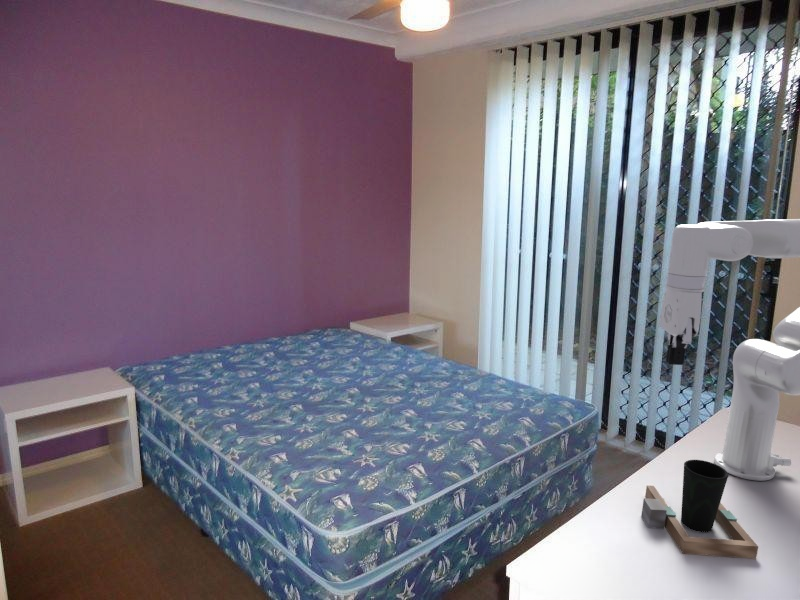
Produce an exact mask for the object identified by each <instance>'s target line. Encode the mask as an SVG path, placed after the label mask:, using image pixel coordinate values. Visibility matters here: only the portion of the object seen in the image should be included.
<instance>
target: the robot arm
mask: <svg viewBox="0 0 800 600" xmlns="http://www.w3.org/2000/svg"><path fill="white" fill-rule="evenodd" d="M669 254H670V255H669V258H668V259H669V261H668V269H667V273H666V274H667V275H666V276H667V277H666V282H665V292H664V295H663V299H662V304H661V309H660V315H659V323H658V325H659V327H661V329H662V330H663V331H665V332H666V333H667V348H666V349H667V351H666V357H665V362H666V363H667V364H669V365H673V366H683V365H684V362H685V356H686V349H687V347H688V344H689V345H691V344H692V339H693V338H695V337H697V336H698V333H699V329H700V322H701V315H702V314H701V313H702V301H703V300H702V299H703V298H702V295H703V294H702V293H703V292H705V288H706V280H707V274H708V267H709V260H719V261H724V262H726V261H727V262H736V261H740V260H742V259H744V258H746V257H747V256H752V257H753V256H754V257H759V258H768V259H792V258H800V218H788V219H787V218H786V219H760V220H759V219H758V220H757V219H755V220H723V221H722V220H721V221H719V220H718V221H704V222H698V223H696V224H679V225H677V226H675V227H674V228H673V232H672V238H671V246H670V253H669ZM772 336H773V340H774V341H775V342H773V341H769V340H765V339H763V338H761V339H760V338H750V339H749V338H748V339H745V340H744V341H742V342H740V343H739V345H737V347H736V349H735V350H734V352H733V355H732V369H733V371H732V372H733V387H732V395H731V400H730V406H729V411H728V412H729V413H728V418H727V426H726V431H725V438H724V443H723V449H722V451H721V452H717V453H716V454H714V460H713V461H714V464H716V465H718V466H720V467H722V468H723V469H725V470H726V471H727V473H728V475H729V474H730V475H732V476H735V477H738V478H741V479H745V480H750V481H758V482H759V481H761V482H762V481H769V480H772V479H774V478H775V475H776V468H775V467H777V466H781V467H791V465H792V461H791V458H790V457H782V456H781V457H780V456H779V454H778V453H771V452H772V447H773V442H774V435H775V429H776V426H777V425H776V424H777V418H778V413H779V410H780V393H783V394H785V395H789V396H800V306H798V307H797V308H796V309H795V310H794V311H792V312H791V313H790V314H788V315H787V316H785V318H783V319H782V320H780V321H779V322H778V324H777V325H775V327H774V329H773V334H772ZM779 392H780V393H779Z"/></svg>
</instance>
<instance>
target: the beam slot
mask: <svg viewBox="0 0 800 600" xmlns="http://www.w3.org/2000/svg"><path fill="white" fill-rule="evenodd" d="M645 487H646V488H645V496H644V497H645V498H644V497H643V501H642V502H643V503H642V509H641V518H642V520H643V521H644V523H645V524H646V527H647V528H648V529H660V530H661V529H662V530H664V529H666V530H667V532H668V533H669V535H670V536H671V538H672V539H673V541H674V543H675V544H676V546H677V547H678V549H679V550H680V552H681V554H687V555H700V556H710V557H711V556H713V557H727V558H738V559H739V558H741V559H753V560H754V559H757V555H758V552H759V551H758V549H759V545H758V544H757V543H756V542H755V541H754V540H753V538H752V537H751V536H750V535H749V534H748V532H746V531H745V529H744V528H743V526H741V524H740V523H739V522H738V521H737V520H738V519H737V518H736V516H735V515H734V514H733V513H732V512H731V511H730V510H727V508H726V507H725V506H724V505H723V504H722V503H721V502H720V505H719V508H718V511H717V515H716V518H715V521H717V523H719V525H720V526H721V528H722V529H723V530H724V531H725V532H726V533H727V535H728V536H729V537H730V539H722V538H710V537H698V536H697V537H696V536H690V535H689V533H687V531H686V530H685V528H684V527H683V526H682V524H681V523H680V521H679V520H678V518H677V514H676V513H675V512H674V510H673V509H672V507H671V506H668V504H667V502H666V501H665V500H664V498H663V497H662V496H661V494H660V492H659V491H658V490H657V488H656V486H654V485H646V486H645Z"/></svg>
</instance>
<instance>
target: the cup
mask: <svg viewBox="0 0 800 600" xmlns="http://www.w3.org/2000/svg"><path fill="white" fill-rule="evenodd" d="M728 477H729V473H727V471H726V470H725V469H723V468H722V467H720V466H718V465H716V464H715V462H714V463H713V462H710V461H708V460H703V459H702V460H701V459H689V460H685V461H684V464H683V480H682V496H681V497H682V498H681V512H680V513H681V515H680V521H681V523H682V524H681V525H683V526H684V527H686V528H687V529H690V530H691V531H694V532H698V533H702V534H703V533H710V532H712V530H713V527H714V525H715V521H716V519H715V518H716V515H717V511H718V508H719V505H720V503H721V501H722V498H723V494H724V491H725V487H726V484H727V481H728Z"/></svg>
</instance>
